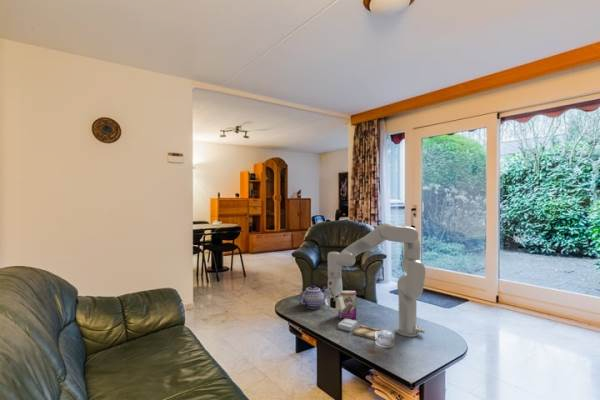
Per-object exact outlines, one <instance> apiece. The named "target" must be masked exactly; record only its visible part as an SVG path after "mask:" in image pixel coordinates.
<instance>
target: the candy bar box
mask: <svg viewBox="0 0 600 400" xmlns="http://www.w3.org/2000/svg"><path fill="white" fill-rule="evenodd" d="M340 297H343V300H344V304H345V308H344V309H342V310H338V318H339V319H345V318H347V319H351V320H357V291H356V290H343V291H342V293H340Z"/></svg>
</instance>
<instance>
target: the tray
mask: <svg viewBox="0 0 600 400" xmlns="http://www.w3.org/2000/svg"><path fill="white" fill-rule="evenodd" d="M375 331H382V332H383V330H382V329H378V328H373V327H370V326H366V325H361V324H358V325H357V326H356V327H355V328H354V329H353V330H352V334H353V335H356V336H360V337H364V338H367V339H371V340H374V339H375V336H374V334H375Z"/></svg>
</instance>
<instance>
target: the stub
mask: <svg viewBox="0 0 600 400" xmlns="http://www.w3.org/2000/svg"><path fill="white" fill-rule="evenodd" d="M326 301H327V305H328V309H329V311H330V312H331V311H339V310H342V309H344V308H345V304H344V300H343V297H335V301H336V308H331V307H330V299H329V298H328V299H327V300H326Z"/></svg>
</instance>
